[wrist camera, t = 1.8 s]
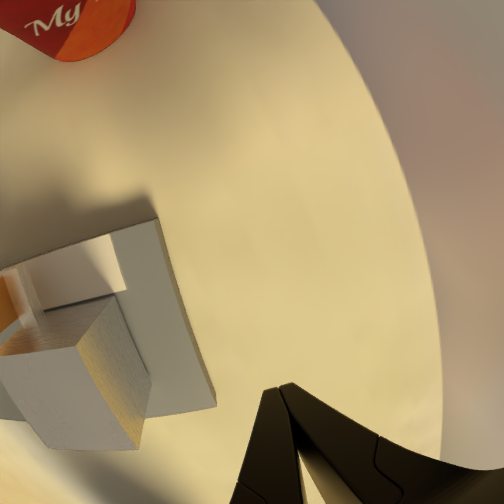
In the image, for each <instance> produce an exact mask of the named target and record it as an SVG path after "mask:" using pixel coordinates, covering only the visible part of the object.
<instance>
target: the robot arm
mask: <svg viewBox="0 0 504 504" xmlns="http://www.w3.org/2000/svg"><path fill="white" fill-rule="evenodd" d="M298 452H299V455H300V457H301V459H302V461H303V463H304V465H305V467H306V468H307V470H308V472H309V474H310V476H311V478H312V479H313V481H314V483H315V485H316V487H317V489H318V490H319V492H320V494H321V496H322V498H323V499H324V501H325V503H326V504H504V468H501V469H495V470H473V469H468V468H464V467H460V466H456V465H453V464H449V463H446V462H443V461H439V460H436V459H433V458H430V457H427V456H424V455H421V454H418V453H416V452H413V451H410V450H408V449H406V448H404V447H402V446H399V445H397V444H395V443H393V442H391V441H389V440H388V439H386V438H384V437H382V436H380V437H379V435H378V434H376V433H375V432H373V431H371V430H369V429H368V428H366V427H364V426H362V425H361V424H359V423H357V422H355V421H354V420H352V419H350V418H349V417H347V416H345V415H344V414H342V413H340V412H339V411H337V410H335V409H334V408H332V407H330V406H329V405H327V404H326V403H324V402H322V401H321V400H319V399H318V398H316V397H315V396H313V395H311V394H310V393H308V392H307V391H305V390H304V389H302V388H301V387H299V386H298V385H296V384H295V383H292V382H291V383H287V384H284V385H281V386H279V388H278V387H274V388H270V389H266V390H264V391H263V394H262V397H261V401H260V405H259V408H258V412H257V416H256V419H255V423H254V426H253V430H252V433H251V437H250V440H249V444H248V447H247V450H246V454H245V457H244V460H243V464H242V467H241V470H240V473H239V477H238V480H237V481H238V482H237V483H236V486H235V489H234V492H233V495H232V498H231V500H230V503H229V504H308V503H307V497H306V491H305V486H304V481H303V475H302V470H301V464H300V459H299V455H298Z"/></svg>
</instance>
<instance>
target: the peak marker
mask: <svg viewBox="0 0 504 504" xmlns="http://www.w3.org/2000/svg"><path fill="white" fill-rule="evenodd" d="M18 318H19V317H18V315H17V313H16V310H15V308H14V305H13V302H12V300H11V297H10V294H9V292H8V289H7V286H6V283H5V280H4V277H3V275H1V276H0V333H1V332H2V331H3V330H5V329H6V328H7V327H8V326H9V325H11V324H12V323H13V322H14V321H15V320H17V319H18Z"/></svg>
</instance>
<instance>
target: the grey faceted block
mask: <svg viewBox="0 0 504 504" xmlns="http://www.w3.org/2000/svg"><path fill="white" fill-rule="evenodd" d="M2 274H3V277H4V280H5V283H6V286H7V289H8V292H9V294H10V297H11V300H12V302H13V305H14V308H15V310H16V313H17V315H18V317H19V320H20V322H21V324H22V327H21V328H20V329H19V330H18V331H17V332H16V333H14V334H13V335H12V336H11V337H10V338H9V339H8V340H7V341H6V342H5V343H3V344H2V345H1V346H0V380H1V382H2V384H3V385H4V387H5V389H6V390H7V392H8V393H9V395H10V397H11V398H12V400H13V401H14V403H15V404H16V406H17V407H18V409H19V410H20V412H21V413H22V415H23V416H24V417H25V419H26V420H27V422H28V423H29V424H30V426H31V427H32V428H33V430H34V431H35V432H36V434H37V435H38V436H39V437H40V439H41V440H42V441H43V442H44V444H45V445H46V446H47V447H48V448H53V449H66V450H87V451H119V450H139V444H140V439H141V434H142V429H143V424H144V419H145V414H146V409H147V405H148V400H149V396H150V391H151V387H152V381H151V379H150V377H149V375H148V373H147V371H146V369H145V367H144V365H143V363H142V361H141V358H140V356H139V354H138V352H137V349H136V347H135V345H134V343H133V340H132V338H131V336H130V333H129V331H128V328H127V326H126V323H125V321H124V318H123V316H122V313H121V311H120V308H119V305H118V303H117V300H116V297H115V295H114V296H110V297H106V298H102V299H98V300H94V301H90V302H85V303H81V304H77V305H73V306H69V307H65V308H60V309H56V310H52V311H48V312H43V310H42V307H41V305H40V302H39V299H38V297H37V294H36V291H35V289H34V286H33V283H32V280H31V277H30V274H29V271H28V268H27V265H26V263H24V264H22V265H19V266H16V267H13V268H11V269H9V270H7V271H5V272H3V273H2Z"/></svg>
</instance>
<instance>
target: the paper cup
mask: <svg viewBox="0 0 504 504" xmlns="http://www.w3.org/2000/svg"><path fill="white" fill-rule="evenodd" d="M135 9H136V1H135V0H0V28H1V29H3V30H5V31H7V32H9V33H10V34H12V35H14V36H16V37H17V38H19V39H21V40H23V41H24V42H26V43H28V44H29V45H31V46H33V47H34V48H36V49H38V50H39V51H41V52H43V53H44V54H46V55H48V56H50V57H52V58H54V59H56V60H59V61H63V62H74V61H79V60H83V59H86V58H89V57H91V56H93V55H95V54H97V53H99V52H101V51H102V50H104V49H105V48H107V47H108V46H110V45H111V44H112V43H113V42H114V41H116V40H117V39H118V38H119V37H120V36H121V35H122V34H123V32H124V31H125V30H126V29H127V27H128V26H129V24H130V23H131V21H132V19H133V17H134V14H135Z"/></svg>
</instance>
